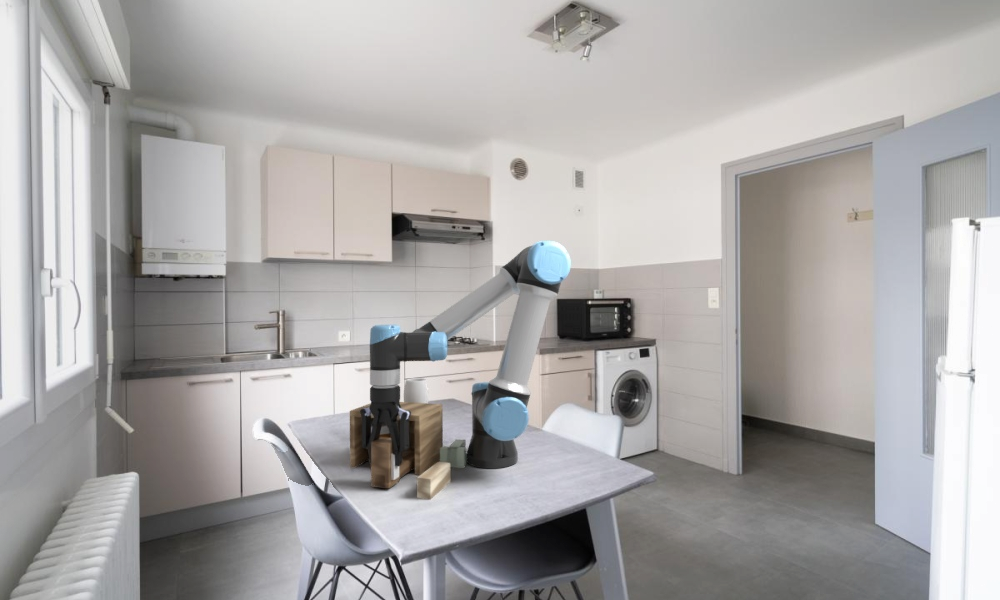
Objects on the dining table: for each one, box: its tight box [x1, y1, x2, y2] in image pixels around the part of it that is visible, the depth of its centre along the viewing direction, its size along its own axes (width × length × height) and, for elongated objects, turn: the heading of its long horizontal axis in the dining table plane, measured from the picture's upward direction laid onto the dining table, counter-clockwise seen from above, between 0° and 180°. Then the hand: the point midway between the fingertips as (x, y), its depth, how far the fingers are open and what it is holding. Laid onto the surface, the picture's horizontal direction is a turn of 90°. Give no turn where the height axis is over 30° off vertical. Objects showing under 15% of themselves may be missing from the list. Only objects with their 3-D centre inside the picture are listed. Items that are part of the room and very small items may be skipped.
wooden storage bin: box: [349, 401, 444, 476], centre depth 141 cm, size 22×15×16 cm
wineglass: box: [403, 377, 429, 404], centre depth 161 cm, size 9×9×21 cm
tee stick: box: [439, 438, 467, 469], centre depth 142 cm, size 7×10×5 cm
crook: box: [370, 437, 415, 489], centre depth 133 cm, size 16×22×11 cm
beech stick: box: [416, 461, 451, 500], centre depth 121 cm, size 4×12×5 cm, turn 163°
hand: (385, 476), depth 123 cm, fingers closed on crook, 5 cm apart
